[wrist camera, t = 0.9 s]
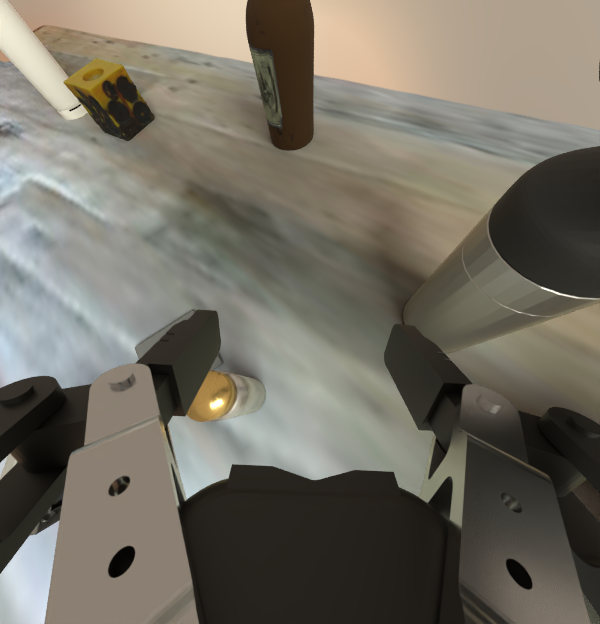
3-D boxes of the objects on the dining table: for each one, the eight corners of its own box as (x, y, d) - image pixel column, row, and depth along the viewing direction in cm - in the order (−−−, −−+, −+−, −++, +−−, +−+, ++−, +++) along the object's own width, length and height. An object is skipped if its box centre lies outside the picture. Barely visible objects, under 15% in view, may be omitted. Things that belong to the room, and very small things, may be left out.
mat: (195, 311, 35) (193, 310, 34) (223, 363, 31) (221, 362, 31) (137, 348, 33) (134, 347, 33) (160, 406, 30) (157, 406, 29)
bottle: (69, 104, 63) (-107, -100, 37) (95, 101, 62) (-67, -109, 36) (58, 121, 60) (-142, -87, 34) (85, 118, 60) (-99, -97, 34)
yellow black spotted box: (131, 110, 59) (95, 57, 50) (157, 118, 56) (124, 63, 47) (103, 133, 56) (60, 81, 47) (129, 142, 54) (88, 89, 44)
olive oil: (298, 116, 51) (279, -121, 28) (326, 137, 47) (330, -115, 24) (260, 136, 49) (205, -95, 26) (285, 159, 46) (247, -85, 22)
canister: (255, 371, 30) (216, 357, 19) (271, 399, 29) (240, 401, 18) (228, 391, 30) (172, 388, 19) (243, 420, 28) (192, 436, 17)
